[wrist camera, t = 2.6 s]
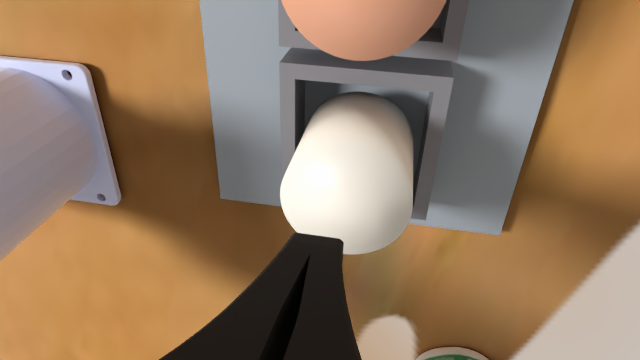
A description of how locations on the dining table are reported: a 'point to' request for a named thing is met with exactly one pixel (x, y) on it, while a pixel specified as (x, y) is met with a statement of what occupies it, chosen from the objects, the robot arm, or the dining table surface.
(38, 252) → the dining table surface
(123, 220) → the dining table surface
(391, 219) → the button cream
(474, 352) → the supplement bottle
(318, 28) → the button terracotta
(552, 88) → the dining table surface
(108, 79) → the dining table surface
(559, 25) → the panel
